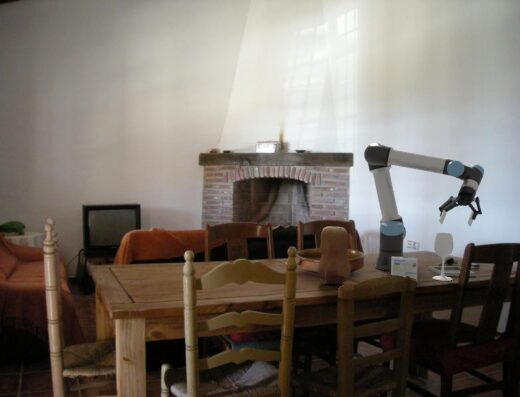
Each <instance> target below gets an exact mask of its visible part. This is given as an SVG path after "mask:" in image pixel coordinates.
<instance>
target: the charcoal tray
mask: <svg viewBox="0 0 520 397" xmlns="http://www.w3.org/2000/svg"><path fill="white" fill-rule="evenodd" d="M460 268H461V266H457V265H456V266H455V265H454V266H453V265H452V266H449V265H448V266H445V265H444V275H445V276H449V277H450V276H451V277H450V278H453V277H454V276H455V278H457V277H459V273H460ZM427 270H428V271H430V272H432V273H433V274H435V275H437V276H440V275H441V271H442V265H440V266H437V265H435V266H434V265H432V266H428V267H427ZM469 271H470V277H469V278H471V277H472V278H474V277H476V272H474V271H472V270H469Z"/></svg>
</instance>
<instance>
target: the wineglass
mask: <svg viewBox="0 0 520 397" xmlns="http://www.w3.org/2000/svg"><path fill="white" fill-rule="evenodd" d="M434 238H435V239H434V243H433V244H434V245H433V247H434V252H435V253H436V255H437V256H439V257H440V258H441V266H442V271H441V275H435V276H433V277H432V279H433V280H436V281H441V282H452V281H453V277H447V276H445V275H444V266H445V260H446V259H447V258H448V257H450V255H452V254H453V251H454V238H453V233H450V232H448V233H447V232H436V235H435V237H434ZM451 280H452V281H451Z"/></svg>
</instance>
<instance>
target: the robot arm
mask: <svg viewBox="0 0 520 397" xmlns="http://www.w3.org/2000/svg"><path fill="white" fill-rule="evenodd" d="M363 153H364V154H363V157H364V159H365V162H366V163H367V166H368V170H369V172H370V173H371V174H372V176H373V180H374V185H375V191H376V194H377V195H376V196H377V200H378V204H379V208H380V209H379V210H380V215H381V219H380V220H379V223H380V226H379V249H378V255H377V258H376V259H375V263H374V264H375V265H374V267H375V269H378V270H382V271H390V272H391V257H405V256H404V240H405V238H406V236H407V230H406V226H405V225H404V224H405V223H404V220H403V216H401V215H400V214H399V211H398V207H397V206H398V205H397V202H396V197H395V192H394V187H393V182H392V177H391V173H390V170H391V168H392V166H395V167H397V166H398V167H401V168H406V169H407V168H408V169H413V170H418V171H423V172H429V173H433V174H434V173H435V174H439V175H445V176H449V177H454V178H456V179H459V180H461V181H463V182H462V184H461V186H460V188H459V191H458V192H457V196H456V197H455V196H453V195H450V196H449V198H448V199H447V200H446V201H444V203H443V204H441V205H440V206H439V207H438V210H439V213H440V214H439V217H440V218H439V219H438V220H439V223H440V225H443V223H444V221H445V219H446V216H447V213H448V212H450V211H451V210H453V209H454V208H458V207H459V206H460V207H467V206H468V208H470V209H471V212H470V216H469V218H468V220H467V224H468V227H471V226H472V225H473V222H474V221H475V220H476V219H477V216H478V215H479V216H481V215H482V214H483V212H482V208H481V204H480V201H481V200H480V197H479V196H476V194H477V192H478V191H479V187H480V184H481V182H482V180H483V178H484V174H485V169H484V168H483V166H481V165H480V164H471V165H470V166H468V165H465V164H464V163H463V162H461V161H460V160H454V159H450V158H447V159H446V158H441V157H436V156H430V155H423V154H420V153H414V152H407V151H403V150H397V149H395V148H393V147H392V146H386V145H384V144H381V143H378V142H375V143H371V144H369V145H367V146H366V148H364V152H363ZM473 202H474V203H475V204H476V208H477V209H476V208H475V207H474V205H473Z"/></svg>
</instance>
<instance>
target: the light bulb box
mask: <svg viewBox="0 0 520 397" xmlns="http://www.w3.org/2000/svg"><path fill="white" fill-rule="evenodd" d="M418 261H419V260H418V258H416V257H415V256H412V257H411V256H404V257H391V271H390V276H391V275H399V276H403V277H406V276H410V277H411V278H414V279H416V281H417V282H418V263H419V262H418Z"/></svg>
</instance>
